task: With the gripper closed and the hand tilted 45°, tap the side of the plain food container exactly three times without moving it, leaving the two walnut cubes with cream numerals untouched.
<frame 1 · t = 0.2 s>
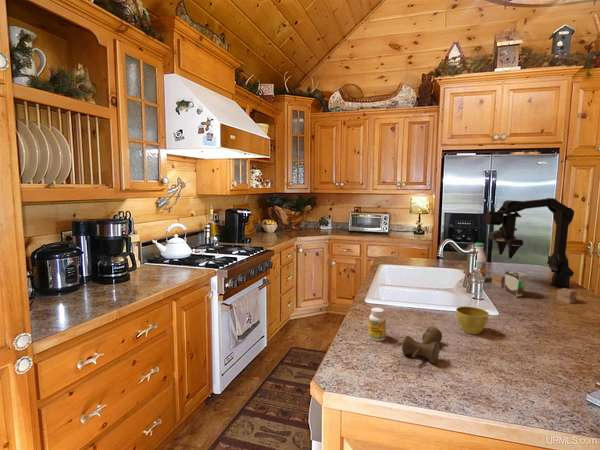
hand: (505, 256, 176), 15 cm above the counter, tool pointing down, fingers open, 9 cm apart
walnut cube one: (499, 285, 176), on the counter
supplement bottle: (376, 338, 115), on the counter
olive yellow bowl: (470, 331, 120), on the counter
food container: (516, 295, 161), on the counter
milk bottle: (476, 280, 185), on the counter
walnut cube seven: (566, 301, 153), on the counter
kendama: (424, 354, 105), on the counter
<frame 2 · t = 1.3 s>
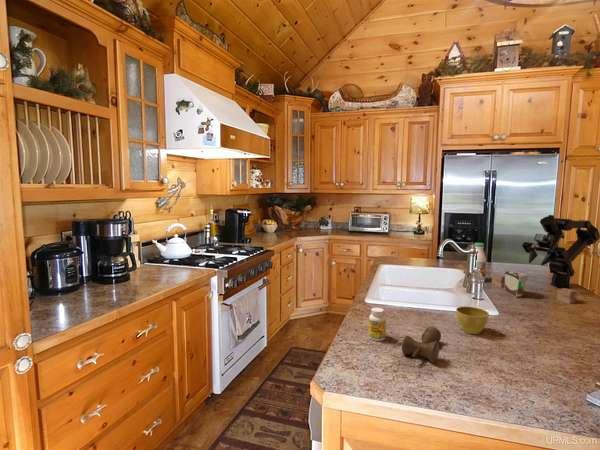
hand: (535, 263, 165), 14 cm above the counter, tool tilted 45°, fingers open, 5 cm apart
nothing on the counter moved.
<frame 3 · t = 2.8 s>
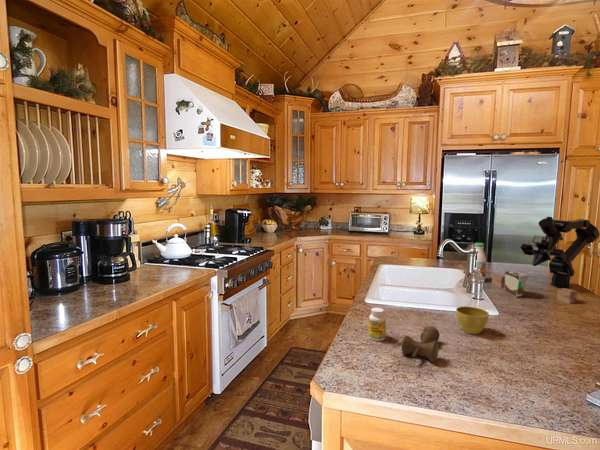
hand: (533, 265, 164), 13 cm above the counter, tool tilted 45°, fingers closed
nothing on the counter moved.
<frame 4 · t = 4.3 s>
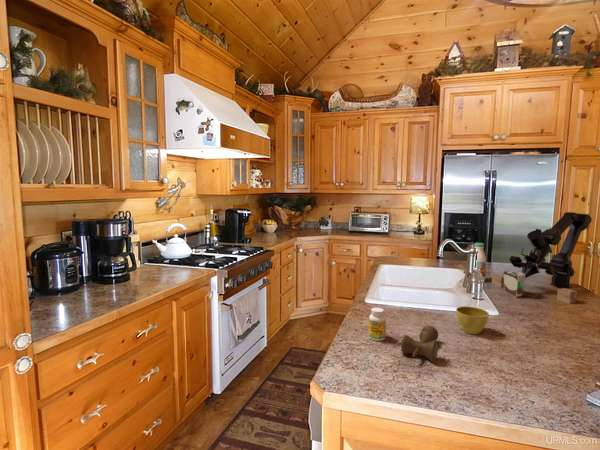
hand: (521, 278, 162), 7 cm above the counter, tool tilted 45°, fingers closed
nothing on the counter moved.
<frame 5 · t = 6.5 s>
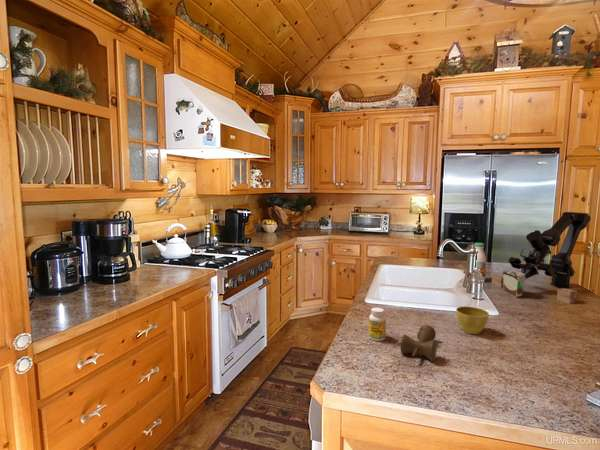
hand: (521, 279, 162), 7 cm above the counter, tool tilted 45°, fingers closed
food container: (516, 294, 161), on the counter, touching gripper
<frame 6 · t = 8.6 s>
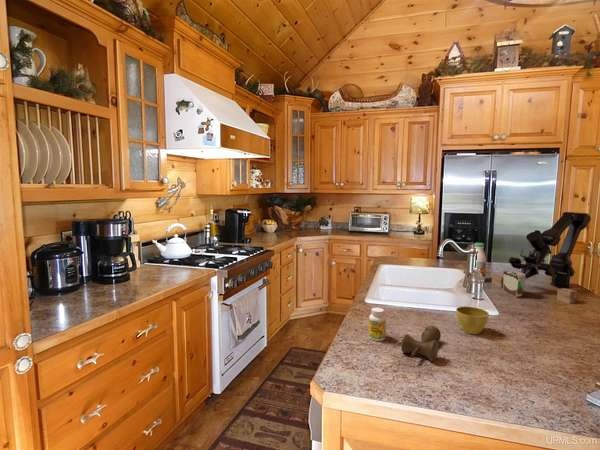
hand: (521, 279, 162), 7 cm above the counter, tool tilted 45°, fingers closed
food container: (516, 294, 161), on the counter
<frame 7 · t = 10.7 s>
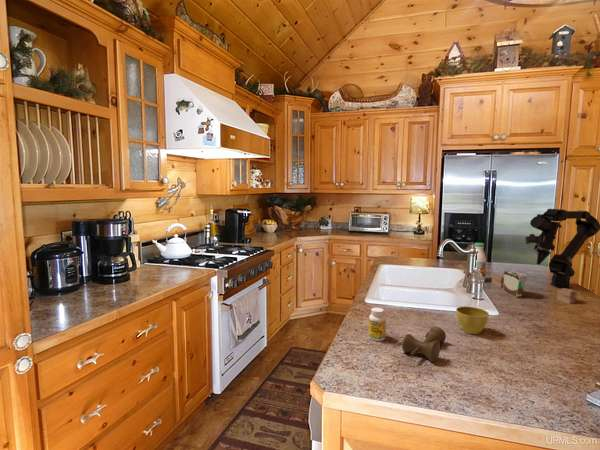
hand: (537, 264, 169), 12 cm above the counter, tool tilted 20°, fingers closed
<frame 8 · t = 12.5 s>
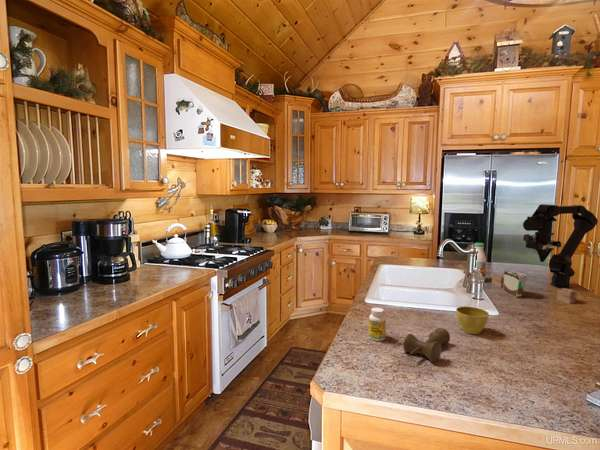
hand: (542, 261, 171), 13 cm above the counter, tool pointing down, fingers closed
at the end: food container moved 0.4 cm from its start; walnut cube one moved 0.1 cm from its start; walnut cube seven moved 0.1 cm from its start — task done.
